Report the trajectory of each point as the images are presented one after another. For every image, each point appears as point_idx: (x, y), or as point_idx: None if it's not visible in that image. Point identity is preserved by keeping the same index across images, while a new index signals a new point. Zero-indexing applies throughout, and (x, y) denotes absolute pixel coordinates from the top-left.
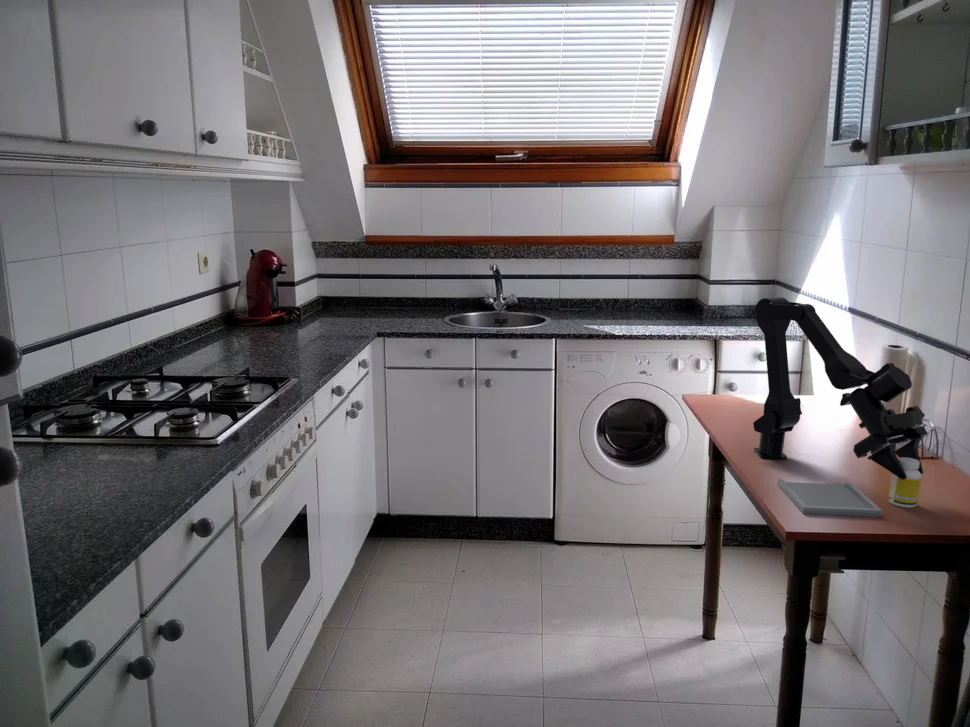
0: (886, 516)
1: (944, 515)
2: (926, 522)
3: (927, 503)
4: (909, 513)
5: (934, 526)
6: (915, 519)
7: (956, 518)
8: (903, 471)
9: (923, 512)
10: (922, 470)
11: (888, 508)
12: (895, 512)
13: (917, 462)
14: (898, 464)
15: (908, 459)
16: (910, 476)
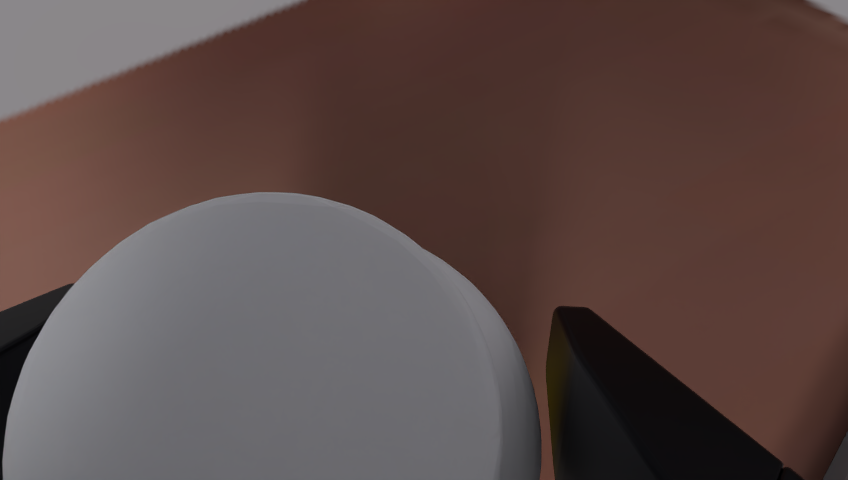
0: (817, 350)
1: (310, 109)
2: (597, 110)
3: None
4: (545, 279)
5: (613, 43)
6: (624, 184)
7: (290, 36)
8: (606, 352)
9: (405, 228)
10: (55, 292)
11: None
12: None
13: (245, 219)
14: (732, 439)
15: (192, 472)
16: (472, 290)
